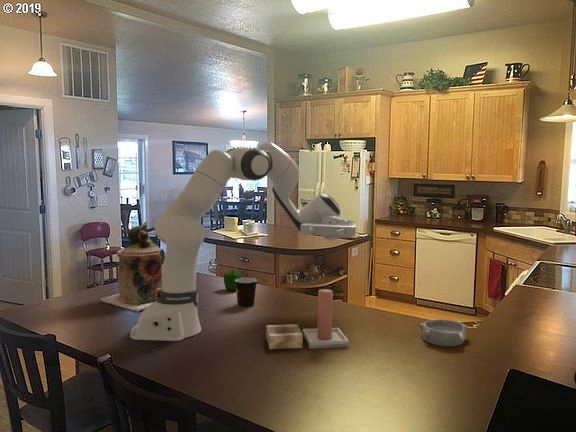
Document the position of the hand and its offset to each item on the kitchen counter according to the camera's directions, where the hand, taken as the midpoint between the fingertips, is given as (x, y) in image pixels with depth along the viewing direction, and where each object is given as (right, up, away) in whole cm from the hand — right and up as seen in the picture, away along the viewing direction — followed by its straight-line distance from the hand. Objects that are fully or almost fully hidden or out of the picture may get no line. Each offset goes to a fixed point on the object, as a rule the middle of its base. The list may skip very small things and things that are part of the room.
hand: (324, 232), depth 165 cm
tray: (-1, -34, -16) cm, 37 cm away
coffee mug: (-29, -30, +24) cm, 48 cm away
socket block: (-14, -34, -18) cm, 41 cm away
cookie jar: (-72, -29, +27) cm, 82 cm away
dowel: (-1, -33, -16) cm, 37 cm away
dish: (+37, -34, -14) cm, 52 cm away
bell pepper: (-38, -28, +46) cm, 65 cm away
